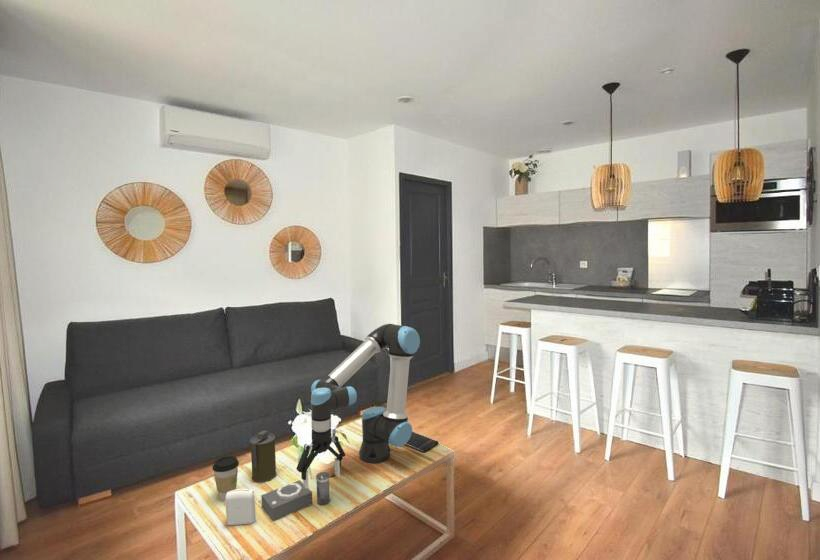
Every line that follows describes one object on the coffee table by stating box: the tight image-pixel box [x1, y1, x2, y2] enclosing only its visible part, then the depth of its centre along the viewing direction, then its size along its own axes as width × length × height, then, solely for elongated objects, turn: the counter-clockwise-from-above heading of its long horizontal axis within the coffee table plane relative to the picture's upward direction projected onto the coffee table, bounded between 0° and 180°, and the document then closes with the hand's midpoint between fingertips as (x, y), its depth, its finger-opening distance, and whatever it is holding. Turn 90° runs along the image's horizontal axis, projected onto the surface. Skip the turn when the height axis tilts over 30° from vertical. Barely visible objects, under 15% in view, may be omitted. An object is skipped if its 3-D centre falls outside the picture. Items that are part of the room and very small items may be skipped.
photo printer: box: [224, 488, 257, 526], centre depth 155 cm, size 10×4×12 cm, turn 96°
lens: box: [315, 471, 331, 507], centre depth 166 cm, size 5×5×11 cm
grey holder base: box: [260, 480, 313, 522], centre depth 164 cm, size 16×11×6 cm
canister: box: [249, 429, 277, 484], centre depth 185 cm, size 11×10×20 cm
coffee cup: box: [212, 455, 240, 502], centre depth 170 cm, size 10×10×15 cm
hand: (322, 480), depth 166 cm, fingers open, 13 cm apart
